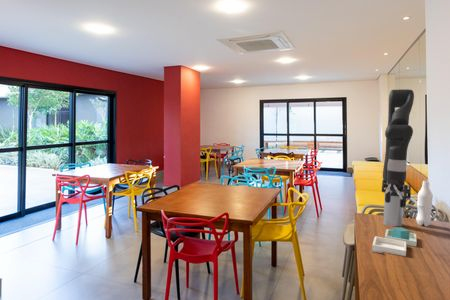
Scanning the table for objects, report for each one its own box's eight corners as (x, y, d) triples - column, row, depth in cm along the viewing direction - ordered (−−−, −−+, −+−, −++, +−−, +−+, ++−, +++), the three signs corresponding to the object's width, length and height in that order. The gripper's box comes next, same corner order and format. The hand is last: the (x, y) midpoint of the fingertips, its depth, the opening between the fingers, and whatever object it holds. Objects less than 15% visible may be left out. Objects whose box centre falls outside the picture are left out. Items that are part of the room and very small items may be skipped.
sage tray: (386, 234, 153) (386, 229, 153) (415, 239, 147) (415, 233, 146) (384, 242, 142) (384, 236, 142) (416, 248, 136) (416, 241, 136)
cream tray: (374, 242, 142) (375, 236, 142) (405, 248, 136) (406, 241, 136) (372, 251, 132) (372, 244, 131) (405, 258, 125) (406, 251, 125)
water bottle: (425, 223, 174) (427, 180, 172) (434, 227, 167) (437, 182, 165) (413, 223, 174) (415, 180, 172) (421, 227, 167) (424, 182, 165)
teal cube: (391, 238, 146) (392, 228, 146) (400, 237, 148) (401, 227, 147) (400, 241, 141) (400, 231, 141) (409, 241, 143) (409, 230, 142)
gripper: (417, 171, 129) (414, 208, 131) (391, 166, 143) (389, 200, 145) (402, 172, 128) (400, 209, 129) (378, 167, 141) (376, 201, 143)
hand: (394, 204), depth 137 cm, fingers open, 8 cm apart
